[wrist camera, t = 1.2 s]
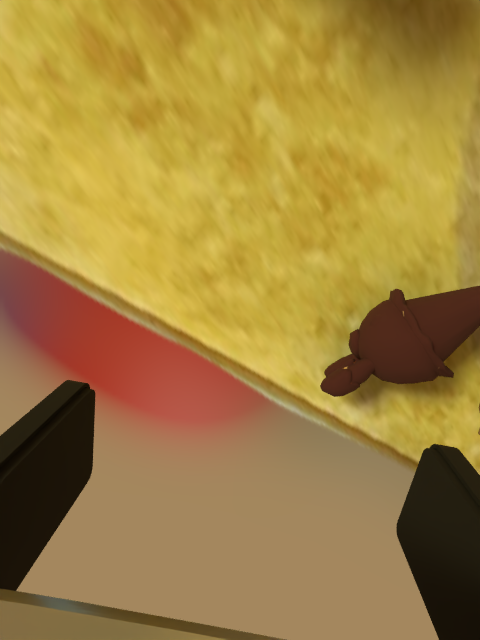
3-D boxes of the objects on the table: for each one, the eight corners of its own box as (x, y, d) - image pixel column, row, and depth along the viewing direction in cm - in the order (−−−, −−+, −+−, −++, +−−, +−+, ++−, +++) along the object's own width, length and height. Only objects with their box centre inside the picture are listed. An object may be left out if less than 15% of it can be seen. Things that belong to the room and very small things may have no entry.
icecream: (511, 228, 21) (292, 351, 25) (582, 337, 21) (348, 441, 25) (472, 239, 28) (303, 335, 32) (525, 322, 27) (347, 407, 32)
